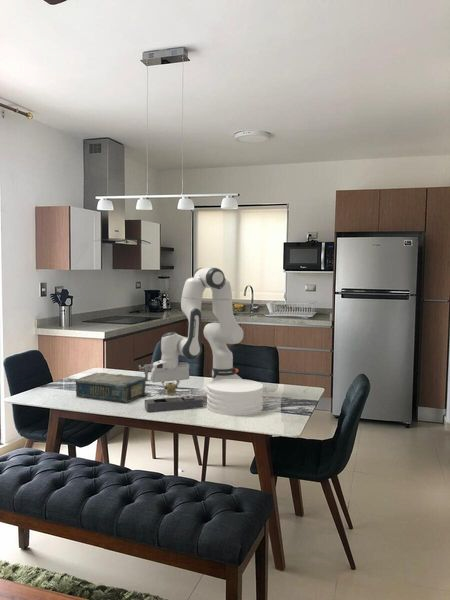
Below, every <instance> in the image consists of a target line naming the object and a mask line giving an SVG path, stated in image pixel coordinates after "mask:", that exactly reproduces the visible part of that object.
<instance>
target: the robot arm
mask: <svg viewBox="0 0 450 600" xmlns="http://www.w3.org/2000/svg"><path fill="white" fill-rule="evenodd" d="M209 288H210V289H211V290H210V291H211V295H212V296H211V301H212V313H213V315H214V316H215V317H216V318H217V320H218V322H210V323H207V324H206V325H205V326H204V328H203V336H204V338H205V340H207V342H208V344H209V346H210V349H211V351H212V369H211V378H212V379H211V382H212V381H216V380H222V379H243V378H242V377H240V376H239V374H237V373H238V372H239V369H238V368H237V367H236V368H235V367H234V366H233V365H234V364H233V362H234V360H233V359H234V357H233V356H234V355H233V352H232V351H231V350H230V349H229V347H228V345H235V344H239V343H241V342H242V340H243V339H244V330H243V328H242V327H241V326H240V324H238V322H237V320H236V318H235V315H234V311H233V310H234V308H233V292H232V287H231V282H230V281H229V280H228V279H226V277H225V274H224V271H222V270H221V269H220V268H217V267H211V266H209V267H199V268H197V269H196V270H194V273H193V274H192V276H191V277H189V278H187V279H186V280H185V282H184V285H183V289H182V292H181V293H182V294H181V298H180V307H181V308H180V309H181V311H182V313H183V314H184V315H185V316H186V318H187V320H188V331H187V332H188V333H187V336H183V335H180V334H178V333H176V332H174V331H171V332H166V333H164V334H163V335H161V340H160V341H161V342H160V351H161V358H160V360H158V361H154V362H152V364H153V367H154V368H153V369H152V371H150V381H151V382H152V383H161V385H162V386H163V390H164V391H166V390H167V386H166V382H174V381H176V383H175V389H176V390H177V389H178V386H179V384H180V382H181V381H184V380H189V379H190V371H189V369H190V363H188V362H187V361H183V362H182V361H181V362H179V356H182V357H185V358H187V359H188V360H195V359H197V358H198V357H199V356H200V355H201V353H202V350H203V347H202V343H201V342H202V341H201V329H202V303H203V295H204V291H205V289H209Z"/></svg>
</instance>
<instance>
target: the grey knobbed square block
mask: <svg viewBox="0 0 450 600" xmlns="http://www.w3.org/2000/svg"><path fill="white" fill-rule="evenodd" d="M192 396H193V395H182V396H181V397H182V400H183V401H185V400H193V397H192Z"/></svg>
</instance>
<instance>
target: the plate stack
mask: <svg viewBox="0 0 450 600" xmlns="http://www.w3.org/2000/svg"><path fill="white" fill-rule="evenodd" d="M206 393H207V394H206V398H207V399H206V408H207V410H208V411H210V412H212V413H214V414H219V415H224V416H235V417H237V416H248V415H255V414H257V413H259V412H262V411H263V406H264V405H263V404H264V400H263V399H264V396H263V394H264V384H262V383H261V382H259V381H255V380H252V379H251V380H250V379H243V378H242V379H222V380H216V381H212V380H211V381H210V382H208V383H206Z"/></svg>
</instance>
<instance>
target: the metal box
mask: <svg viewBox="0 0 450 600" xmlns="http://www.w3.org/2000/svg"><path fill="white" fill-rule="evenodd" d="M74 382H75V393H76V396H75V397H77V398H82V399H91V400H99V401H107V402H115V403H123V404H127V403H128V402H131V401H133V400H134V401H135V400H137V399H138V398H140V397H143V396H144V395H145V393H146V383H147V381H146V378H145V376H141V375H128V374H126V375H125V374H121V373H120V374H119V373H118V374H115V373H107V372H95V373H92V374H89V375H85V376H83V377H80V378H79V379H75V381H74Z"/></svg>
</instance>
